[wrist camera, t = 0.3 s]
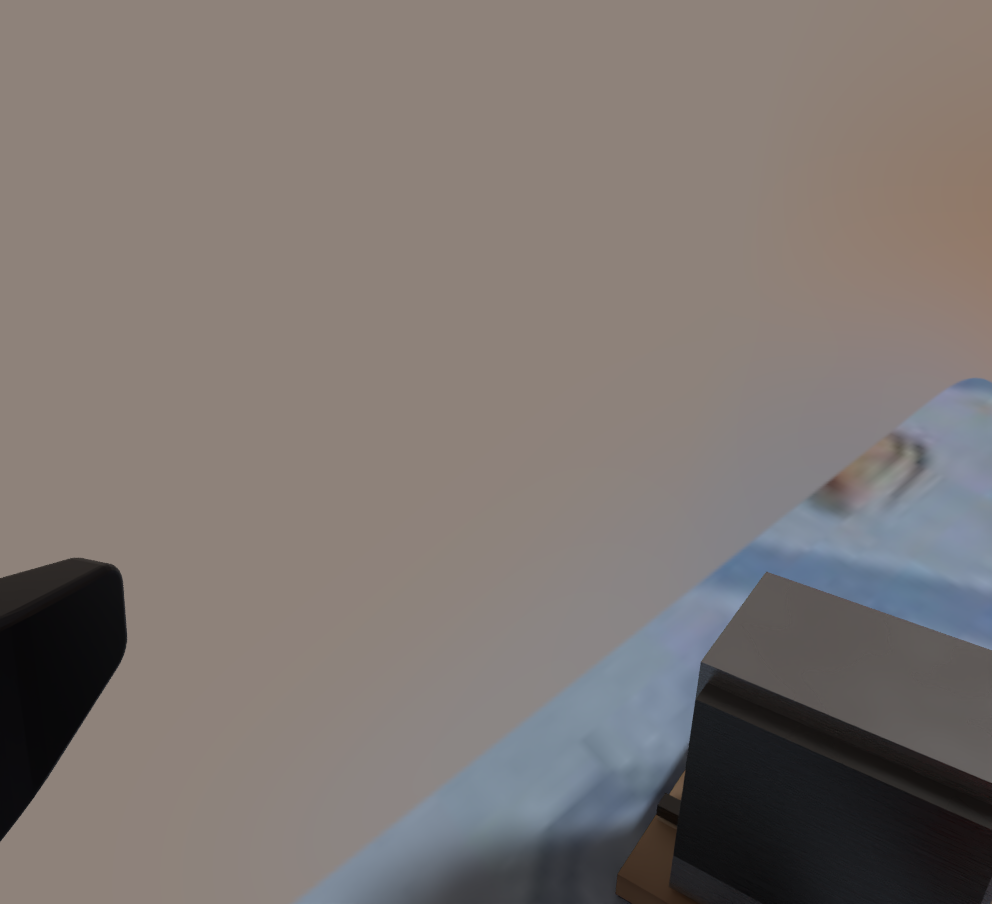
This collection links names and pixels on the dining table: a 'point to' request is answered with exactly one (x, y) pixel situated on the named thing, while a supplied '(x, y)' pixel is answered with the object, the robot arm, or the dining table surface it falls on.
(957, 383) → the dining table surface
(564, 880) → the dining table surface
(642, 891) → the gauge track
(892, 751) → the gauge slider
